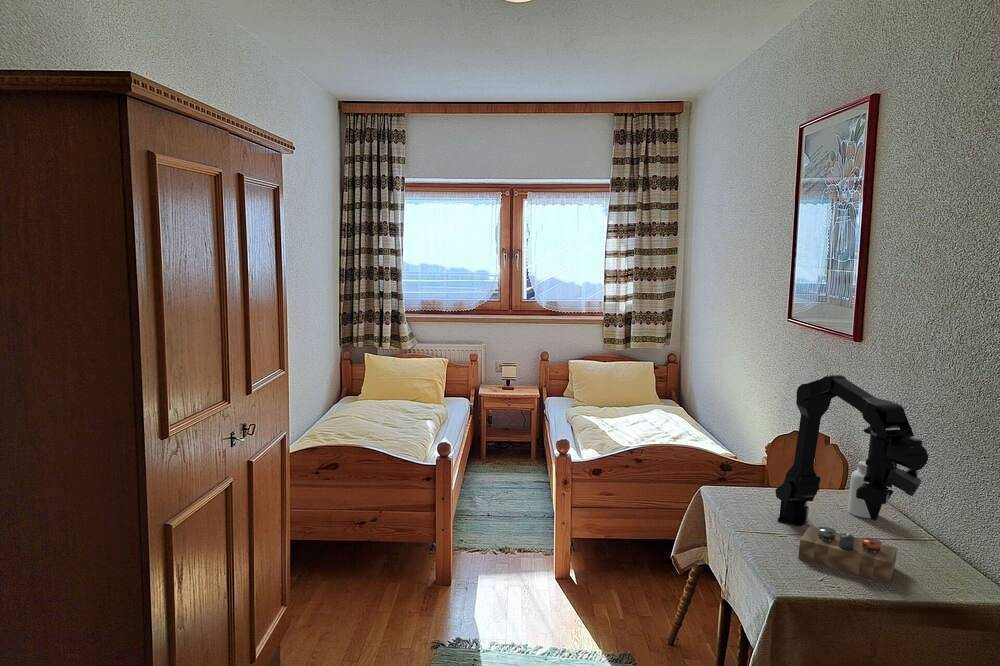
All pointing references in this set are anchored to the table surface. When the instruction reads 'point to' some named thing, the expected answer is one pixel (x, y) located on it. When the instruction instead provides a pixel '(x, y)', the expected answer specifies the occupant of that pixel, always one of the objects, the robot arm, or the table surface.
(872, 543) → the knob right
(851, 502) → the pill bottle
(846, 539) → the dial
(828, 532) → the knob left
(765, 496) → the table surface
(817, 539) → the mount
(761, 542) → the table surface
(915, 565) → the table surface
